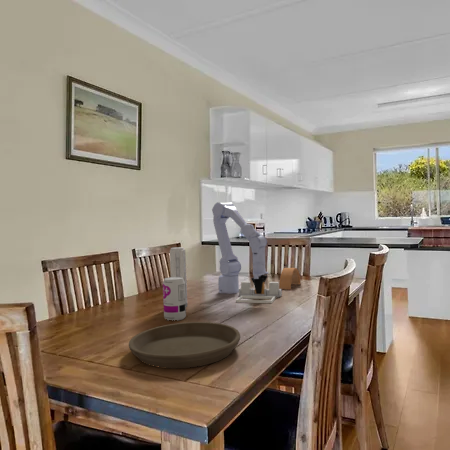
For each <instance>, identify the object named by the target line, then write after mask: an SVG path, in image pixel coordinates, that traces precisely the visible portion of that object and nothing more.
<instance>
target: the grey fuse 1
mask: <svg viewBox="0 0 450 450" xmlns="http://www.w3.org/2000/svg"><path fill="white" fill-rule="evenodd" d="M240 288H241V293H245V294H250V289H252V283H251V281H241V282H240Z"/></svg>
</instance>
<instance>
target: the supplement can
mask: <svg viewBox="0 0 450 450" xmlns="http://www.w3.org/2000/svg"><path fill="white" fill-rule="evenodd" d="M162 296H163V299H162V301H163V318H164V319H165V320H166V319H167V320H166V321H169V320H172V321H173V320H174V321H173V322H175V320H177V321H181V320H184V319H185V318H186V317H187V307H186V300H185V281H184V279H183V277H171V276H169V277H165V278H163V281H162Z"/></svg>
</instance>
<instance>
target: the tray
mask: <svg viewBox="0 0 450 450" xmlns="http://www.w3.org/2000/svg"><path fill="white" fill-rule="evenodd" d="M259 299H260V300H259ZM264 299H265V300H264ZM275 300H276V297H275V296H240V297H238V298H236V299H235V303H238V304H239V303H245V304H246V303H248V304H273V302H274V301H275Z"/></svg>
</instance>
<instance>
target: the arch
mask: <svg viewBox="0 0 450 450" xmlns="http://www.w3.org/2000/svg"><path fill="white" fill-rule="evenodd" d="M292 285H301V276H300V270H299V269H298V268H297V267H284V268H282V271H281V273H280V278H279V289H282V290H292Z"/></svg>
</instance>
